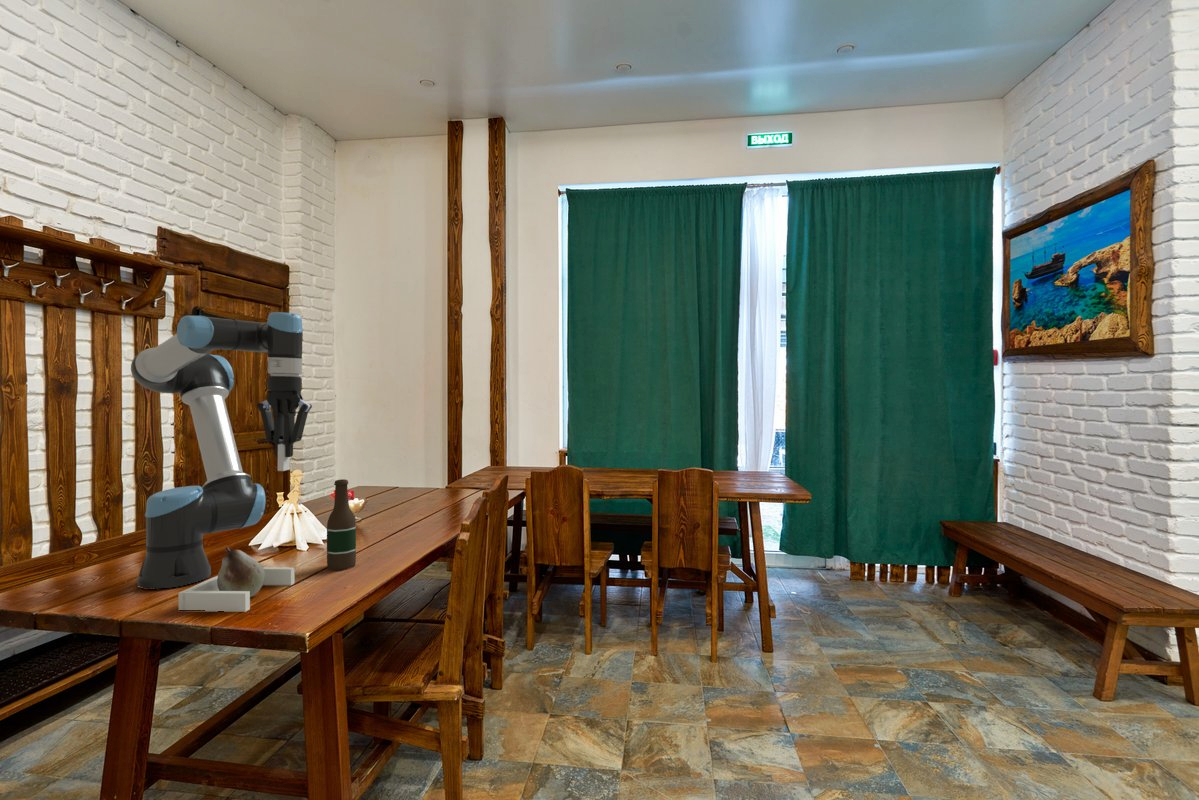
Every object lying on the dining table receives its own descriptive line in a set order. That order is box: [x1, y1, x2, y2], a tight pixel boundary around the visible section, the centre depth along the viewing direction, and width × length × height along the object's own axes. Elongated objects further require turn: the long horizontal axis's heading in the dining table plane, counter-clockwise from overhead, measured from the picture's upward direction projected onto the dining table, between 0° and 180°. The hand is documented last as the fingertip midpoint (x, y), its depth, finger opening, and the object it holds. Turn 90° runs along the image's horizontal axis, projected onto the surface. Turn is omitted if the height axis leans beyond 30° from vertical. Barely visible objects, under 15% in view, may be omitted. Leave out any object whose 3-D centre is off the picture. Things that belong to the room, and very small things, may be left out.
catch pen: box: [178, 566, 295, 613], centre depth 135 cm, size 15×19×4 cm
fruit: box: [217, 546, 265, 598], centre depth 134 cm, size 10×9×12 cm
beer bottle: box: [326, 479, 357, 571], centre depth 158 cm, size 8×8×24 cm
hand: (283, 470), depth 142 cm, fingers closed
